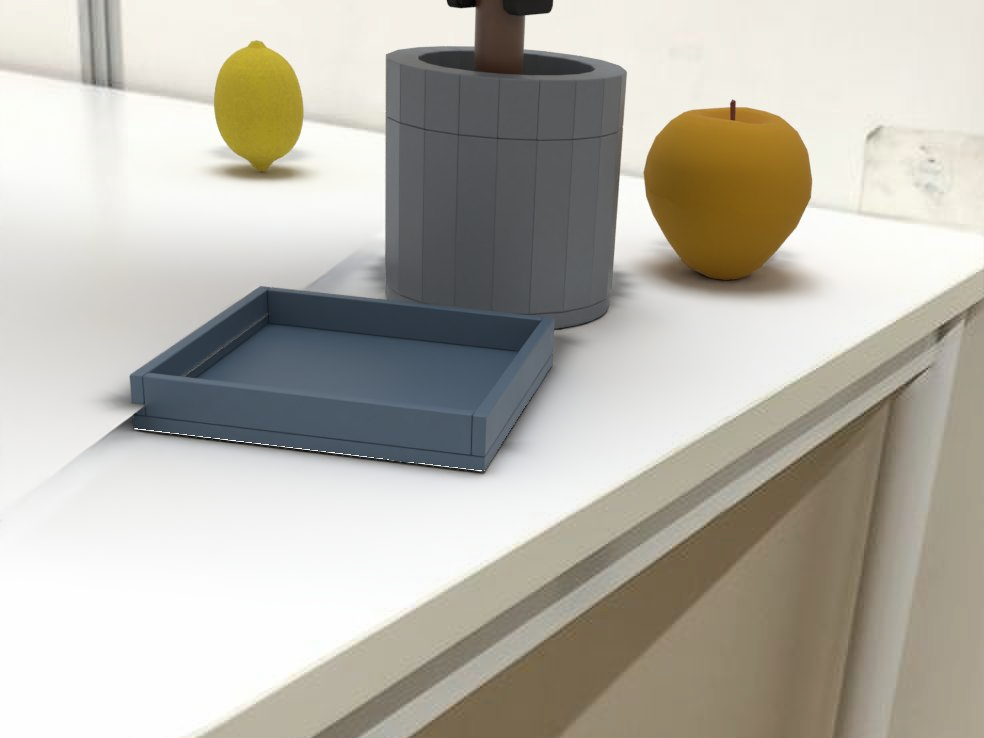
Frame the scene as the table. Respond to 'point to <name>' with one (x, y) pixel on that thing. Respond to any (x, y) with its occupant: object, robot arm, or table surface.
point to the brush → (498, 39)
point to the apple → (727, 187)
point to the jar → (502, 182)
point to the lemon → (258, 105)
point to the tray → (350, 377)
